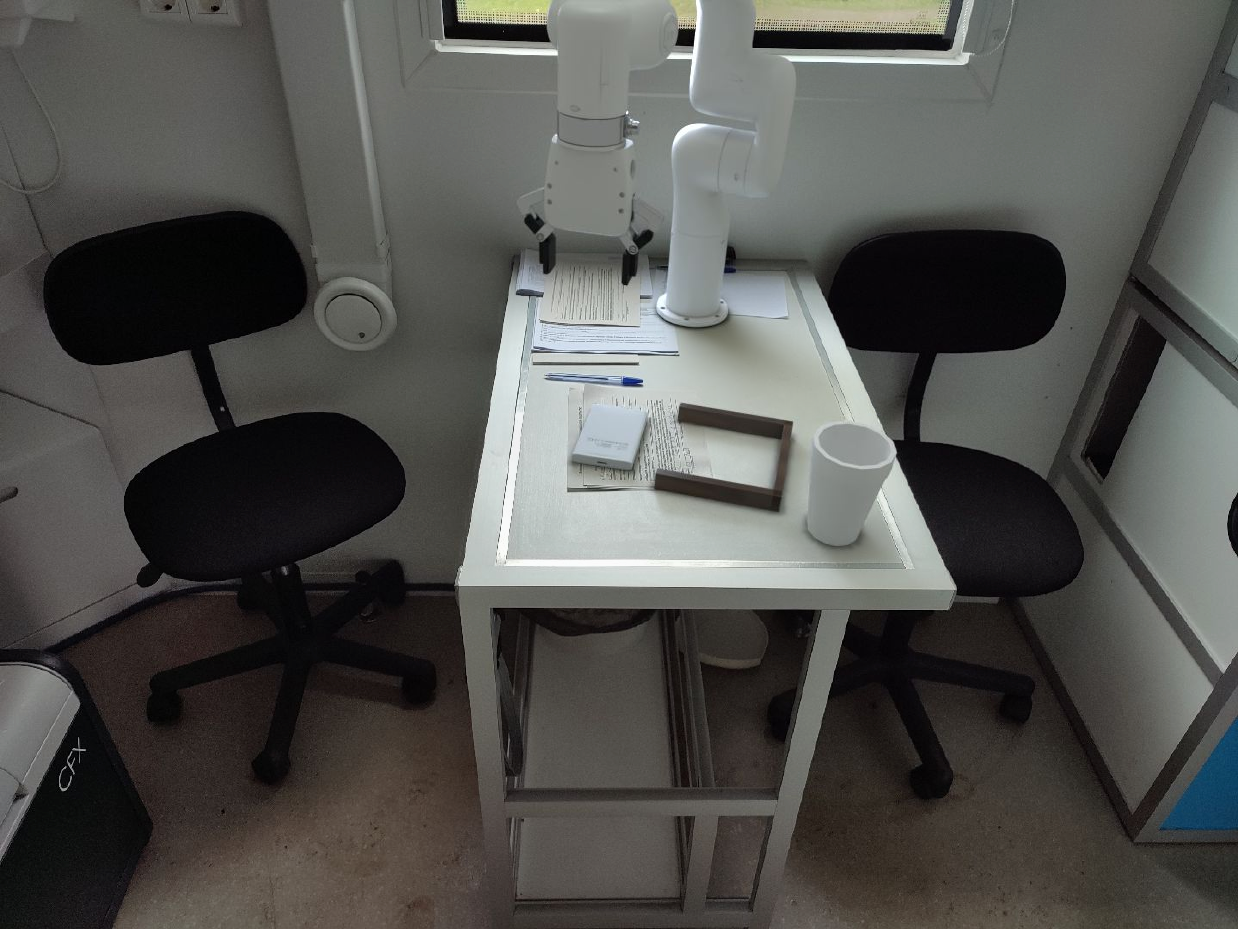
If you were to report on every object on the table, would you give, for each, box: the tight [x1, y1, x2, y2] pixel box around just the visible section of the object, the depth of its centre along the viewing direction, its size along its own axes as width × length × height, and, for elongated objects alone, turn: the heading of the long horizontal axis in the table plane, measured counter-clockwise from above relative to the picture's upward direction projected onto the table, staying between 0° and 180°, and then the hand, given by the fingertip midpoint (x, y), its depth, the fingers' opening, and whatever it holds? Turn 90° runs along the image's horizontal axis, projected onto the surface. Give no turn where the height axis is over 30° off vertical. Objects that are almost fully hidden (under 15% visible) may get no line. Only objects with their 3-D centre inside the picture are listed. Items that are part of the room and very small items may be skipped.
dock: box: [653, 402, 794, 512], centre depth 116 cm, size 17×16×2 cm
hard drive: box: [571, 403, 649, 471], centre depth 119 cm, size 2×8×12 cm
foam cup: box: [806, 420, 898, 547], centre depth 102 cm, size 10×9×13 cm
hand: (587, 275), depth 103 cm, fingers open, 9 cm apart
